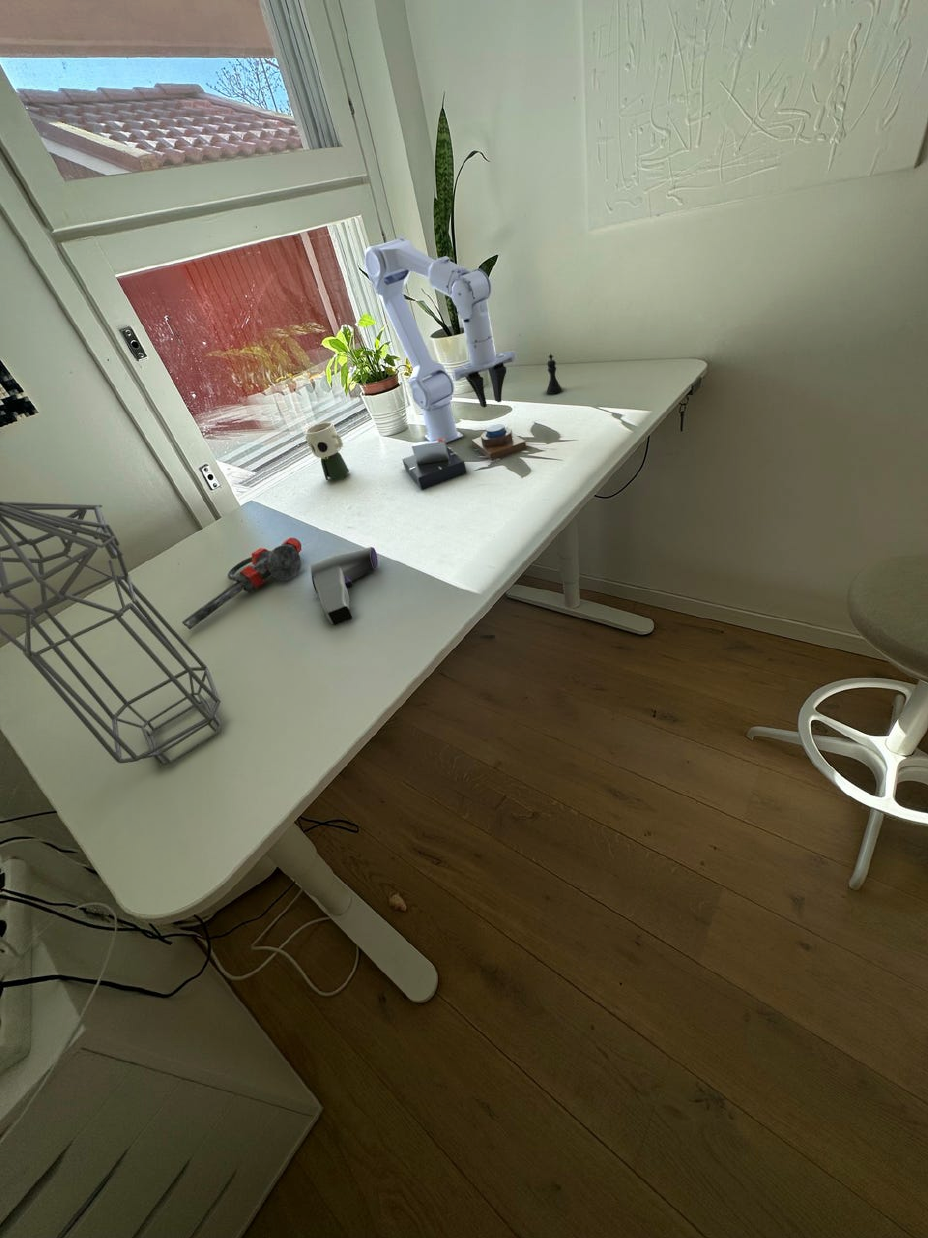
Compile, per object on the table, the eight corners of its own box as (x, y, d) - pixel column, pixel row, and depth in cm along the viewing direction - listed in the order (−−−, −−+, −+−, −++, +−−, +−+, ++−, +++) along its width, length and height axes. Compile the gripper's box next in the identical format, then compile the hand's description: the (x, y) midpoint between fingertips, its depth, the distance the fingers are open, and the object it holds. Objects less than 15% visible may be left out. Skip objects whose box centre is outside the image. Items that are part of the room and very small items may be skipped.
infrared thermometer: (329, 632, 84) (315, 582, 94) (399, 604, 85) (378, 558, 96) (318, 611, 80) (305, 562, 91) (391, 583, 82) (370, 538, 93)
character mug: (313, 483, 133) (292, 434, 125) (330, 470, 138) (311, 422, 130) (346, 484, 128) (326, 432, 120) (362, 471, 133) (344, 420, 125)
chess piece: (553, 388, 150) (550, 351, 144) (565, 389, 147) (562, 351, 141) (543, 393, 149) (539, 356, 142) (554, 395, 146) (550, 357, 139)
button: (484, 435, 125) (483, 428, 124) (501, 429, 125) (500, 422, 124) (491, 440, 121) (490, 432, 120) (508, 434, 122) (507, 426, 121)
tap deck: (404, 471, 127) (400, 458, 125) (448, 455, 128) (445, 442, 126) (420, 490, 116) (416, 477, 114) (468, 473, 118) (465, 460, 116)
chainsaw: (284, 551, 111) (321, 557, 101) (178, 628, 98) (208, 644, 88) (268, 526, 108) (304, 529, 97) (155, 602, 95) (183, 615, 85)
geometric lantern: (136, 805, 63) (-128, 572, 42) (122, 731, 74) (-92, 517, 53) (256, 731, 69) (78, 490, 47) (226, 672, 80) (71, 456, 58)
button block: (472, 446, 129) (470, 432, 127) (505, 434, 131) (503, 420, 128) (491, 460, 120) (488, 446, 118) (526, 448, 121) (524, 433, 119)
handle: (417, 464, 120) (411, 445, 117) (418, 461, 121) (413, 442, 118) (448, 460, 118) (443, 440, 115) (449, 457, 119) (444, 437, 116)
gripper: (454, 351, 106) (468, 417, 115) (518, 330, 108) (527, 397, 117) (443, 347, 112) (457, 410, 120) (504, 327, 114) (513, 391, 122)
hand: (491, 403), depth 119 cm, fingers open, 3 cm apart
